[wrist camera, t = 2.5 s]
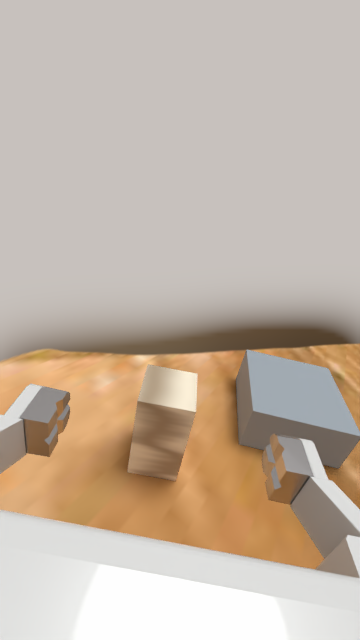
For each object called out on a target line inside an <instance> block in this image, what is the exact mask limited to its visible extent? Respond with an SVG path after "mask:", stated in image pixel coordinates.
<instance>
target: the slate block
mask: <svg viewBox="0 0 360 640" xmlns="http://www.w3.org/2000/svg"><path fill="white" fill-rule="evenodd" d="M236 392H237V415H238V438H239V444H240V445H244V446H248V447H252V448H256V449H260V450H264V449H265V447H266V446H268V445H270V440H269V439H270V437H271V436H272V435H273V434H274V433H275V434H280V435H285V436H291V437H296V438H301V439H306V440H311V441H312V442H313V443H314V444H315V447H316V450H317V452H318V455H319V457H320V460H321V462H322V465H326V466H330V467H334V468H338V469H339V467H340V466H341V465H342V463H343V462H344V461H345V459H346V458H347V457H348V455H349V454H350V452H351V451H352V450H353V448H354V447H355V446H356V444H357V443H358V442H359V440H360V432H359V430H358V427H357V425H356V423H355V421H354V419H353V417H352V415H351V413H350V411H349V409H348V407H347V405H346V403H345V401H344V399H343V397H342V395H341V393H340V391H339V389H338V387H337V385H336V383H335V381H334V379H333V377H332V375H331V373H330V371H329V369H328V368H324V367H319V366H315V365H311V364H306V363H302V362H298V361H293V360H289V359H285V358H280V357H276V356H272V355H267V354H263V353H259V352H254V351H250V350H246V353H245V355H244V358H243V361H242V364H241V367H240V369H239V372H238V375H237V378H236Z"/></svg>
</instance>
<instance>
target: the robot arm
mask: <svg viewBox="0 0 360 640" xmlns="http://www.w3.org/2000/svg"><path fill="white" fill-rule="evenodd" d="M69 400H70V393H69V392H66V391H62V390H57V389H53V388H49V387H43V386H39V385H35V384H30V385H28V386H27V387H26V388H25V389H24V390H23V392H22V393H21V394H20V395H19V397H18V398H17V399H16V400H15V402H14V403H13V404H12V405H11V407H10V408H9V409H8V410H7V412H6V413H5V414H4V415H0V474H1V473H2V472H3V471H5V470H6V469H7V468H9V467H10V466H11V465H13V464H14V463H15V462H17V461H18V460H20V459H21V458H22V457H24V456H25V455H26V453H29V454H35V455H41V456H47V457H50V455H51V453H52V451H53V450H54V448H55V446H56V444H57V442H58V434H60V433H62V432H63V431H64V429H65V427H66V425H67V422H68V419H69V414H70V407H69V405H68V402H69ZM269 440H270V445H268V446H266V447H265V449H264V451H263V455H262V468H263V472H264V473H265V475H266V476H267V477H268V478H267V480H266V482H265V485H266V490H267V495H268V500H271V501H275V502H280V503H284V504H289V505H290V507H291V508H292V510H293V511H294V513H295V514H296V516H297V518H298V519H299V521H300V522H301V524H302V525H303V527H304V528H305V530H306V531H307V533H308V534H309V536H310V537H311V539H312V540H313V542H314V544H315V545H316V547H317V548H318V550H319V551H320V553H321V554H322V556H323V557H324V560H323V561H322V562H321V563H320V565H319V566H318V567H317V568H316V569H315V570H314V569H309V568H304V567H298V566H293V565H288V564H283V563H277V562H272V561H267V560H262V559H256V558H251V557H246V556H241V555H236V554H230V553H225V552H220V551H215V550H209V549H204V548H199V547H194V546H189V545H183V544H178V543H173V542H168V541H162V540H157V539H152V538H147V537H141V536H136V535H131V534H126V533H120V532H115V531H110V530H105V529H99V528H94V527H89V526H84V525H78V524H73V523H68V522H63V521H57V520H52V519H47V518H42V517H36V516H31V515H26V514H21V513H15V512H10V511H5V510H0V640H360V509H359V508H358V507H357V506H356V505H355V504H354V503H353V502H352V501H351V500H350V499H349V498H348V497H347V496H346V495H345V494H344V493H343V492H342V491H341V490H340V489H339V487H338V486H337V485H336V484H335V483H334V482H333V481H331V480H328V478H327V475H326V473H325V470H324V467H323V465H322V462H321V460H320V457H319V455H318V452H317V450H316V447H315V444H314V443H313V442H312V441H311V440H306V439H301V438H296V437H291V436H285V435H280V434H275V433H274V434H273V435H272V436H271V437H270V439H269Z"/></svg>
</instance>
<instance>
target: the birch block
mask: <svg viewBox="0 0 360 640" xmlns="http://www.w3.org/2000/svg"><path fill="white" fill-rule="evenodd" d="M196 397H197V374H196V373H190V372H185V371H180V370H175V369H170V368H164V367H159V366H154V365H149V364H148V366H147V370H146V373H145V377H144V380H143V384H142V387H141V391H140V394H139V398H138V402H137V409H136V416H135V422H134V429H133V436H132V443H131V450H130V457H129V463H128V470H127V472H129V473H134V474H140V475H145V476H151V477H156V478H161V479H167V480H172V481H176V479H177V475H178V472H179V469H180V465H181V462H182V458H183V455H184V451H185V448H186V444H187V441H188V438H189V434H190V431H191V427H192V424H193V420H194V417H195V413H196Z"/></svg>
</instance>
